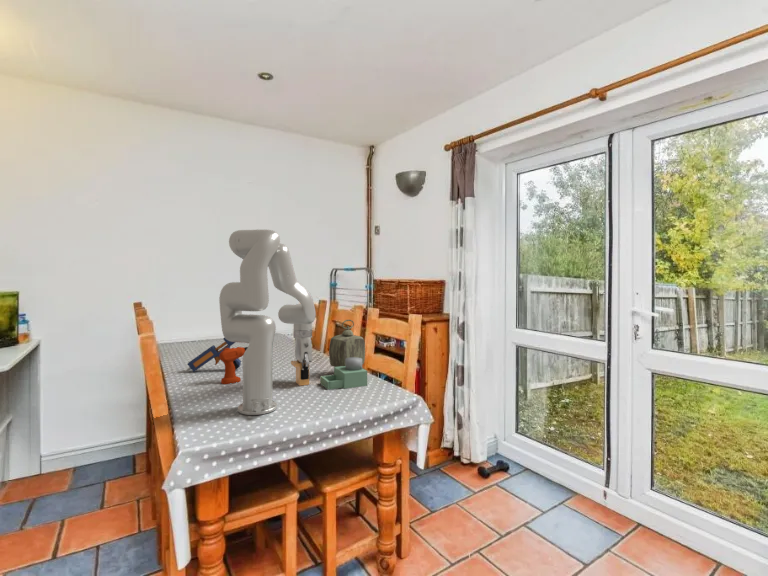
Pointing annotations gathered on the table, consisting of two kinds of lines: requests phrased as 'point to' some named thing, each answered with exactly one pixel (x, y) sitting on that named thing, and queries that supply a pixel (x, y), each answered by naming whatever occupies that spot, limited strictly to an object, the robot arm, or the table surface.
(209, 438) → the table surface
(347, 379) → the green drawer box
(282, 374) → the table surface
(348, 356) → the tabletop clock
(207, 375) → the table surface
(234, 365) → the toy drill
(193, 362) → the glue gun
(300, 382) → the orange rectangular block
